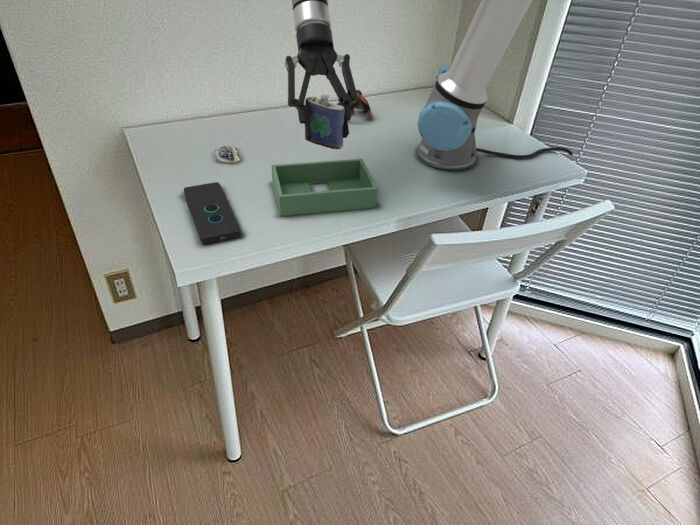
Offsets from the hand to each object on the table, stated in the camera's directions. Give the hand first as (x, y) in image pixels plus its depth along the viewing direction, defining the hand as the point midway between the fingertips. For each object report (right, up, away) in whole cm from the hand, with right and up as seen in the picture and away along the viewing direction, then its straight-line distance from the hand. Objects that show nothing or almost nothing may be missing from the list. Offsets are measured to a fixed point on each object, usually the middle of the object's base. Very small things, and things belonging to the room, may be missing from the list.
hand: (327, 136), depth 106 cm
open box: (-2, -11, +12) cm, 16 cm away
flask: (-1, 0, +5) cm, 5 cm away
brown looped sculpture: (+6, +18, +46) cm, 50 cm away
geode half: (-26, +1, +24) cm, 35 cm away
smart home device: (-25, -16, +4) cm, 30 cm away
